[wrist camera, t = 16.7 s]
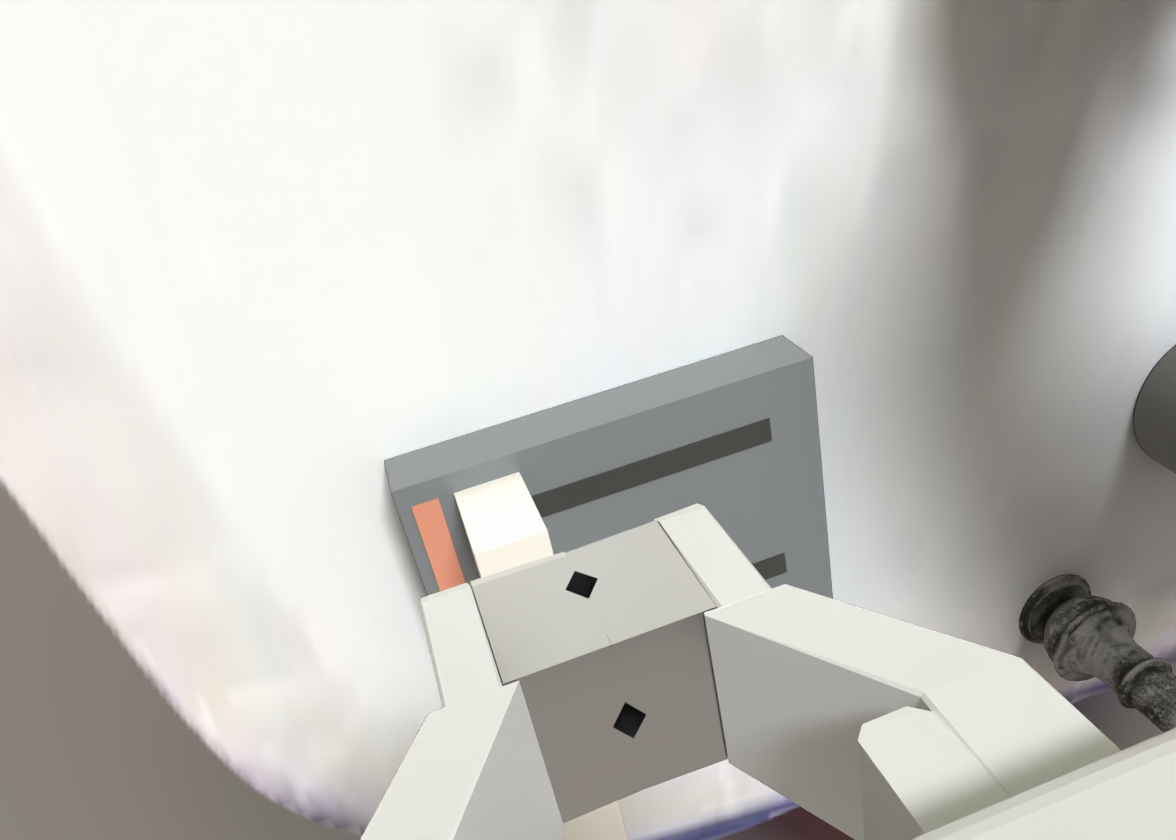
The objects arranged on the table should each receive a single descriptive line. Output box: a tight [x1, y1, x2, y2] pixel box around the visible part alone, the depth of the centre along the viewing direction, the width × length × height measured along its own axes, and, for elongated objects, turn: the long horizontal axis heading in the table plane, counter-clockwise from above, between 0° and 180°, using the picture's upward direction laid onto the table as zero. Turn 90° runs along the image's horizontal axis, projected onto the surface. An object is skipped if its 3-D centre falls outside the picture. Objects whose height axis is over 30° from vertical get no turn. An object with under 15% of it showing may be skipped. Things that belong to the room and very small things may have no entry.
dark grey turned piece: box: [1019, 574, 1176, 732], centre depth 56 cm, size 6×6×12 cm
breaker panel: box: [384, 335, 833, 840], centre depth 46 cm, size 20×22×8 cm
